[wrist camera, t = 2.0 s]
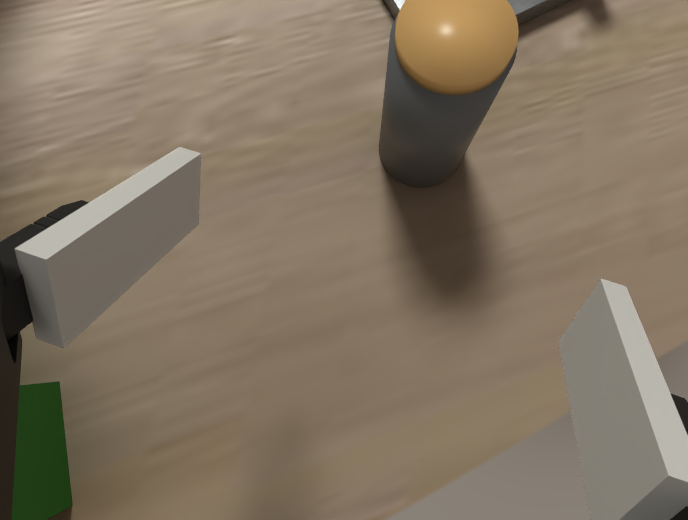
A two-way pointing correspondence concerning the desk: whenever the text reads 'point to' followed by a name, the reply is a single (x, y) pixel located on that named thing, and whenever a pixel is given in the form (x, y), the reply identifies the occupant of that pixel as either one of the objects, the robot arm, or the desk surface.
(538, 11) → the plate
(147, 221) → the robot arm
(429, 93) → the grey cylinder orange top
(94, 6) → the desk surface
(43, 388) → the hardback book
